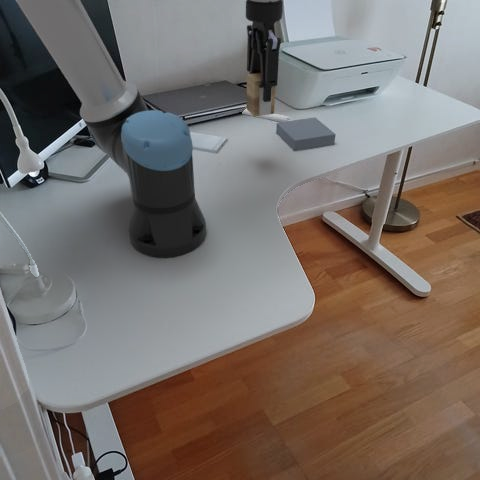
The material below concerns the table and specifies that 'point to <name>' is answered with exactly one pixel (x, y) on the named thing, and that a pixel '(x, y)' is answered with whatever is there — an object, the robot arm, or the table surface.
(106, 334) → the table surface
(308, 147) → the grey base
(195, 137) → the hard drive
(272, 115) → the marker
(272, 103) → the oak block
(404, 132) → the table surface
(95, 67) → the robot arm
